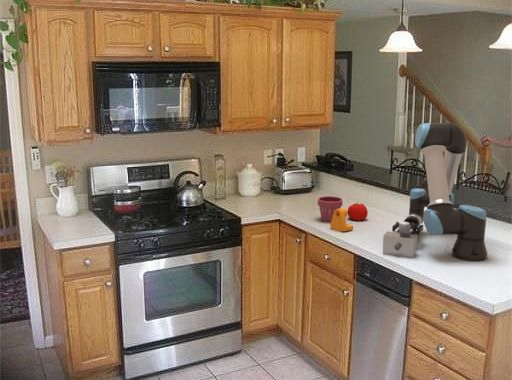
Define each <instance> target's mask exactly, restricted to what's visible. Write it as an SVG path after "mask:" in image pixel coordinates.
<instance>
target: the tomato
mask: <svg viewBox="0 0 512 380" xmlns="http://www.w3.org/2000/svg"><path fill="white" fill-rule="evenodd" d="M368 214H369V212H368V208H367V206H366V205H365V204H364V203H357V202H356V203H353V204H352V205H351V204H350V205H349V206H348V208H347V217H348V218H349V219H352V220H353V221H355V222H357V221H363V220H366V219H367V217H368Z"/></svg>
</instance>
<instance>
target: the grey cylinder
mask: <svg viewBox="0 0 512 380" xmlns="http://www.w3.org/2000/svg"><path fill="white" fill-rule="evenodd" d="M402 230H404V231H410V230H411V225H410V224H409V222H404V221H400V224H399V232H398V233H400V232H401V231H402Z"/></svg>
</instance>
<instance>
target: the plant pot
mask: <svg viewBox="0 0 512 380" xmlns="http://www.w3.org/2000/svg"><path fill="white" fill-rule="evenodd" d="M317 206H318V207H319V212H320V217H321V220H322V222H324V223H325V222H326V223H331V220H332V217H333V214H334V211H335V210H336V209H340V208H342V207H343V198H341V197H339V196H330V195H327V196H320V197H318V198H317Z"/></svg>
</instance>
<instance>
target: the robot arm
mask: <svg viewBox="0 0 512 380" xmlns="http://www.w3.org/2000/svg"><path fill="white" fill-rule="evenodd" d="M414 140H415V141H414V144H415V147H416V148H418V149H420V153H421V154H423V155H424V162H425V163H424V164H425V171H426V180H427V181H426V182H427V188H428V192H426V189H425V188H412V189H411V190H410V192H409V193H410V194H409V208H408V209H409V210H408V216H407V217H406V218H405V219H404V220H403V222H409V224H410V225H411V230H410V231H411V234H413V235H417V236H419V235H421V232H422V231H424V227H425V230H426V231H427V232H428V233H429V234H430V235H436V236H443V235H444V236H445V235H450V236H451V235H455V236H456V235H457V236H456V240H455V242H454V245H453V247H452V249H451V255H452V256H453V257H455V258H457V259H460V260H462V261H464V260H465V261H470V262H481V261H485V260H487V259H488V251H487V247H486V244H485V243H486V242H485V235H486V228H487V227H486V225H487V212H486V210H485V209H483V208H482V207H478V206H474V205H470V204H469V205H468V204H460V205H458V208H455V206H454V203H455V195H454V193H452V190H453V188H454V183H455V180H456V177H457V173H458V170H459V166H460V163H461V160H462V156H463V155H464V153H466V150H467V146H468V139H467V135H466V133H465V131H464V130H463V128H462V126H460V125H459V124H457V123H454V122H426V123H421V124H419V125H418V127H417V130H416V132H415V138H414ZM444 152H445V154H444ZM425 208H426V209H425ZM423 223H424V224H423ZM399 224H401V222H399V221H395V224H393V225H392V230H391V232H397V233H398V232H399Z"/></svg>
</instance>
